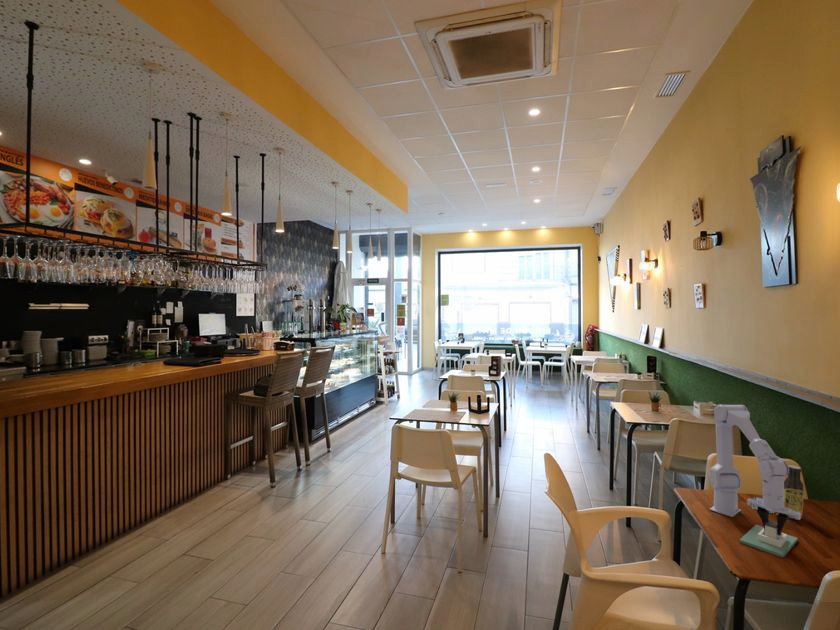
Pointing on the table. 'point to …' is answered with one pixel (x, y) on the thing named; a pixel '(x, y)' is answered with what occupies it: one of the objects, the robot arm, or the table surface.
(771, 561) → the table surface
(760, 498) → the smartphone
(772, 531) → the plug
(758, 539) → the socket board
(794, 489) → the sauce bottle
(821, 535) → the table surface
